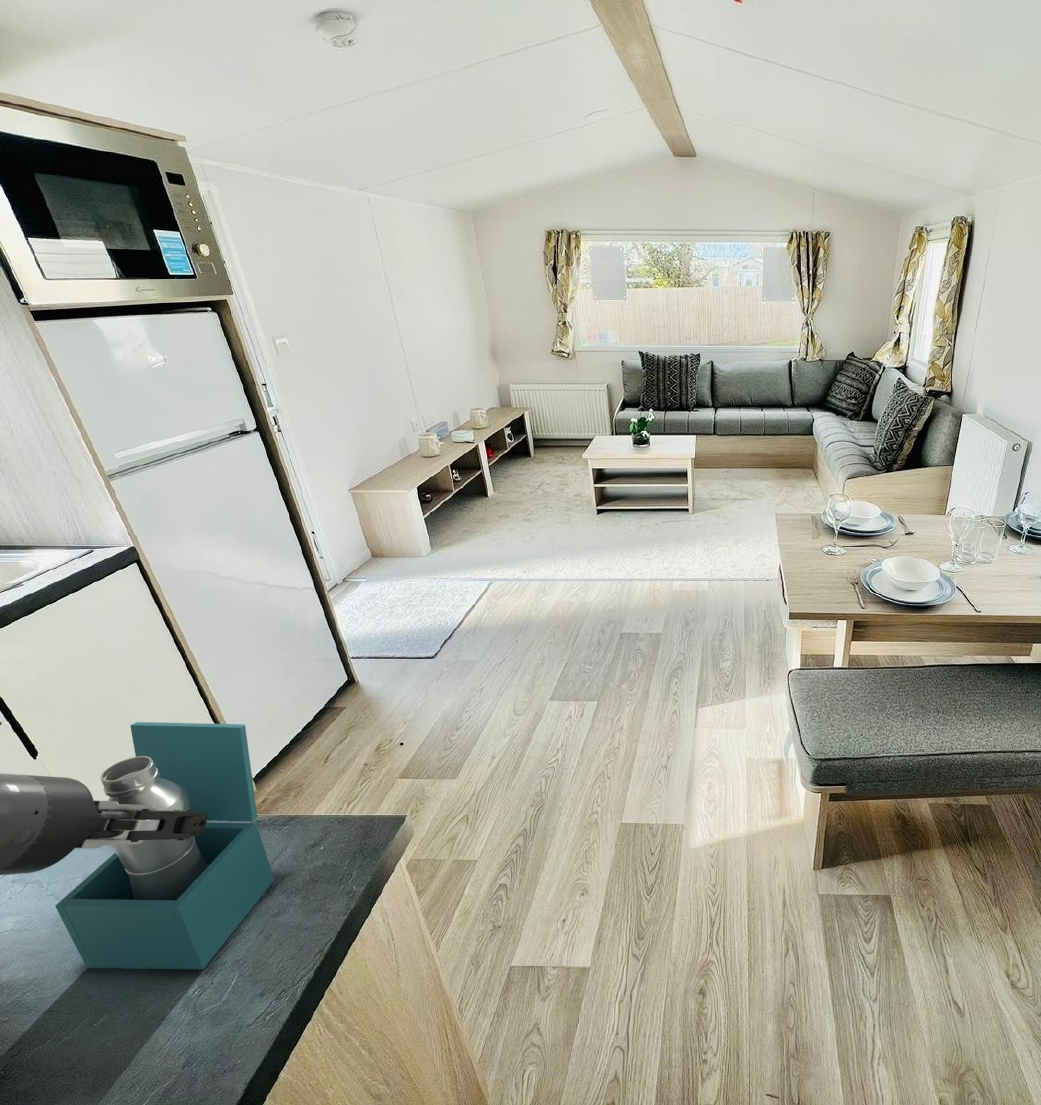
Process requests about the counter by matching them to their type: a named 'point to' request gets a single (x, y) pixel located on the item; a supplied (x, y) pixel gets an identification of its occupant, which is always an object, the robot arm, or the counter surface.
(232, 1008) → the counter surface
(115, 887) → the cool box
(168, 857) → the silver metal bottle
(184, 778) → the cool box lid
